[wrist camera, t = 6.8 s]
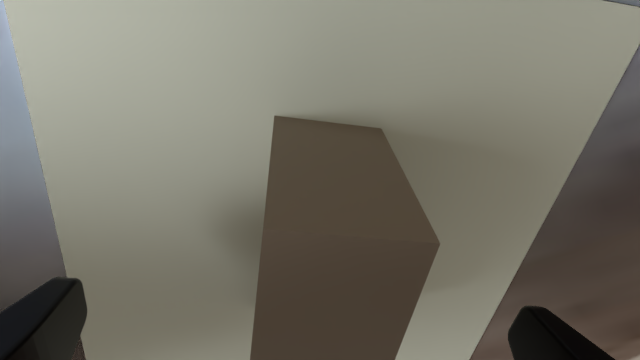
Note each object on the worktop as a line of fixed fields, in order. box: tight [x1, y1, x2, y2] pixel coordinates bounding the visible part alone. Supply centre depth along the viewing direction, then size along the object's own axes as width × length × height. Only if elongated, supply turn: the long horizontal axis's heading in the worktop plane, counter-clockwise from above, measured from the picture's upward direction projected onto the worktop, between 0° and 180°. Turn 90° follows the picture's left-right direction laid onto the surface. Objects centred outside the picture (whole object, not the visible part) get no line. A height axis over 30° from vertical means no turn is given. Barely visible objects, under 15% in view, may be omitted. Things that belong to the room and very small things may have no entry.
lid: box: [3, 0, 640, 360], centre depth 9 cm, size 12×12×5 cm
